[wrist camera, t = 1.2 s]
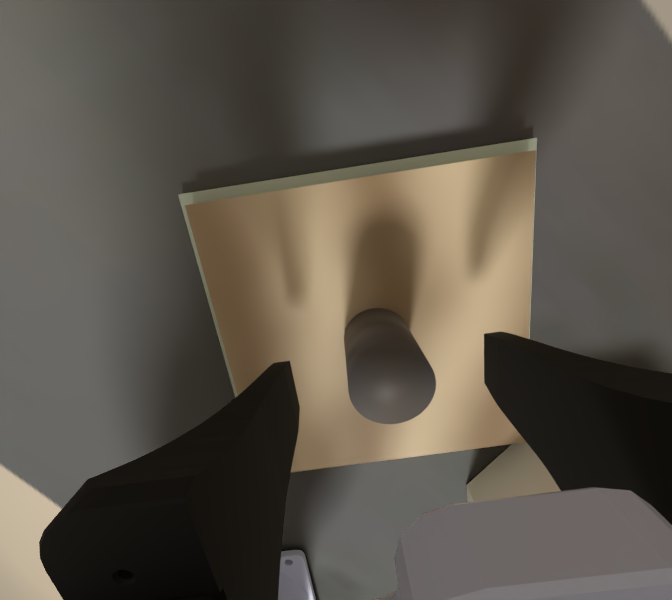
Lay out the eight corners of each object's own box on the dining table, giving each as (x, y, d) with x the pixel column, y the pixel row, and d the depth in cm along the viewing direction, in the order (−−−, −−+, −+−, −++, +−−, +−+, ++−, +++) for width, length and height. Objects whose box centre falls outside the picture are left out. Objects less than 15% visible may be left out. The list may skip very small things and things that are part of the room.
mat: (258, 466, 18) (256, 472, 18) (182, 194, 14) (177, 194, 14) (521, 432, 18) (525, 437, 18) (531, 139, 13) (537, 137, 13)
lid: (263, 464, 18) (239, 556, 13) (192, 204, 14) (123, 208, 9) (516, 431, 17) (582, 514, 13) (524, 153, 13) (625, 128, 9)
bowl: (468, 579, 22) (499, 667, 17) (465, 437, 18) (503, 506, 14) (645, 560, 21) (719, 644, 17) (678, 411, 18) (779, 474, 14)
